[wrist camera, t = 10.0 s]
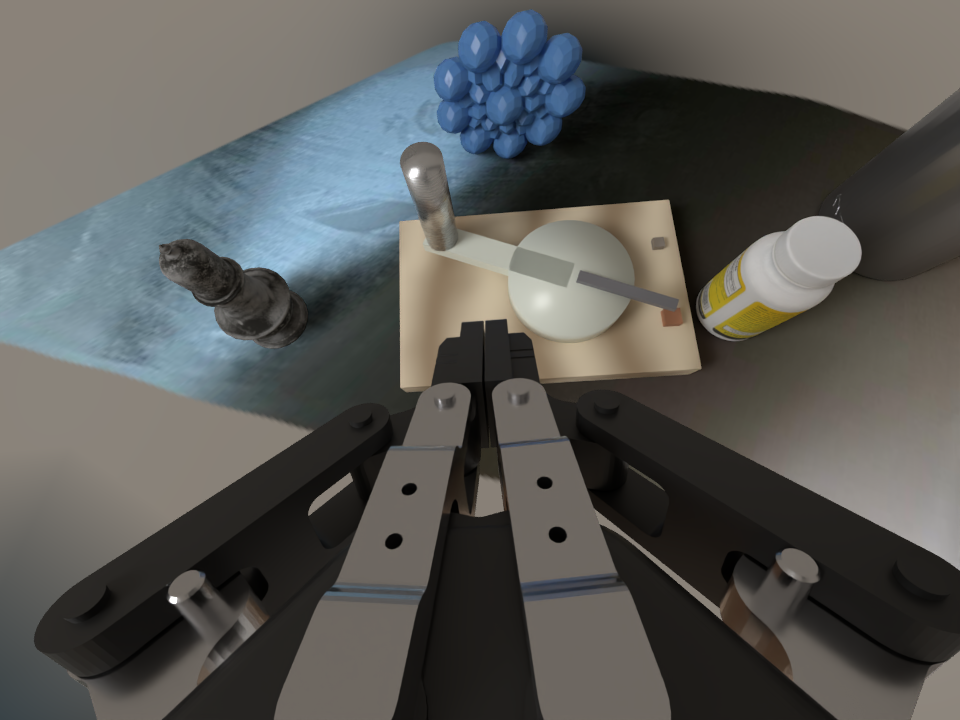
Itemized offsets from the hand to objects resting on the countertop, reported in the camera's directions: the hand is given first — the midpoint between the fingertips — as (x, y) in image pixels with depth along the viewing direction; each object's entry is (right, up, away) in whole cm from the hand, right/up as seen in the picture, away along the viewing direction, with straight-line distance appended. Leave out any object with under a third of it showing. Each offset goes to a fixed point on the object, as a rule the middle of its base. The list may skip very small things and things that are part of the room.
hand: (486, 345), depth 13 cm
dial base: (+5, +4, +20) cm, 21 cm away
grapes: (+2, +19, +23) cm, 30 cm away
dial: (+5, +6, +18) cm, 19 cm away
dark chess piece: (-17, +3, +21) cm, 27 cm away
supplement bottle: (+20, +3, +19) cm, 27 cm away
